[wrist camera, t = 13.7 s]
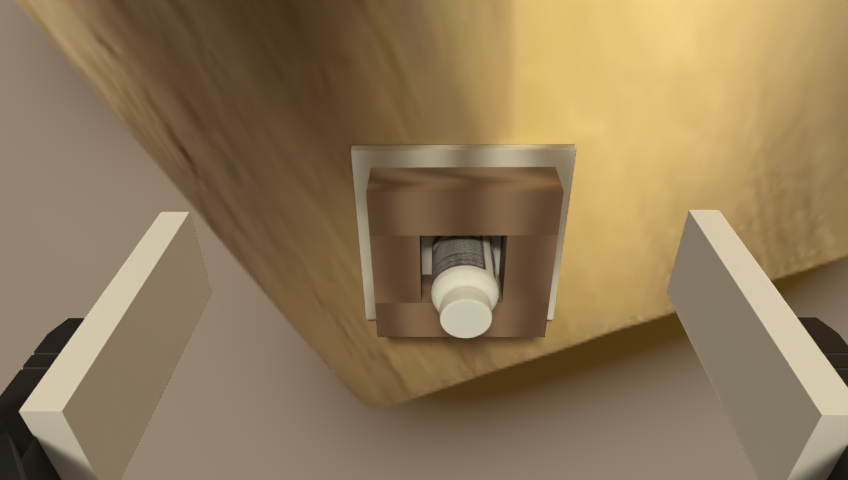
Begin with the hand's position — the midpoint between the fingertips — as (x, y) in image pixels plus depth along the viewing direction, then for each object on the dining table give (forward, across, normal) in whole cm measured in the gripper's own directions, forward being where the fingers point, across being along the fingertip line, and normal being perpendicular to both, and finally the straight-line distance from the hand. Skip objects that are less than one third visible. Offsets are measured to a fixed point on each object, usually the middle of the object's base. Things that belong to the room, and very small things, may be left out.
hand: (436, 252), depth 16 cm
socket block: (+32, +2, -21) cm, 38 cm away
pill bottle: (+31, +2, -21) cm, 38 cm away
